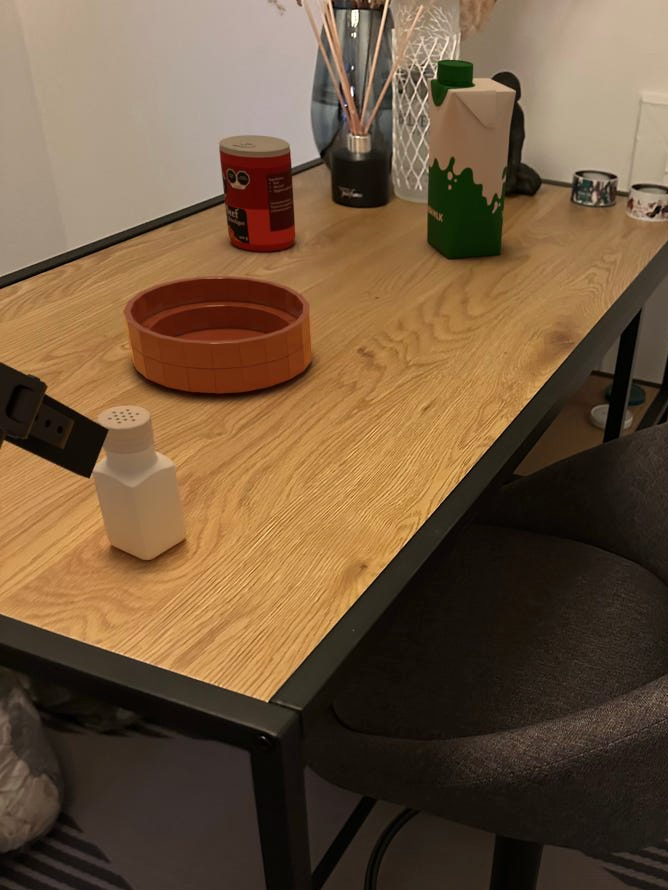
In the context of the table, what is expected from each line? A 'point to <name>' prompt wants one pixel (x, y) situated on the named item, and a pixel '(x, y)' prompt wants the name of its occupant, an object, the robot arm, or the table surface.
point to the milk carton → (467, 160)
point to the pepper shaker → (137, 486)
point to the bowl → (219, 334)
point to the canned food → (258, 192)
